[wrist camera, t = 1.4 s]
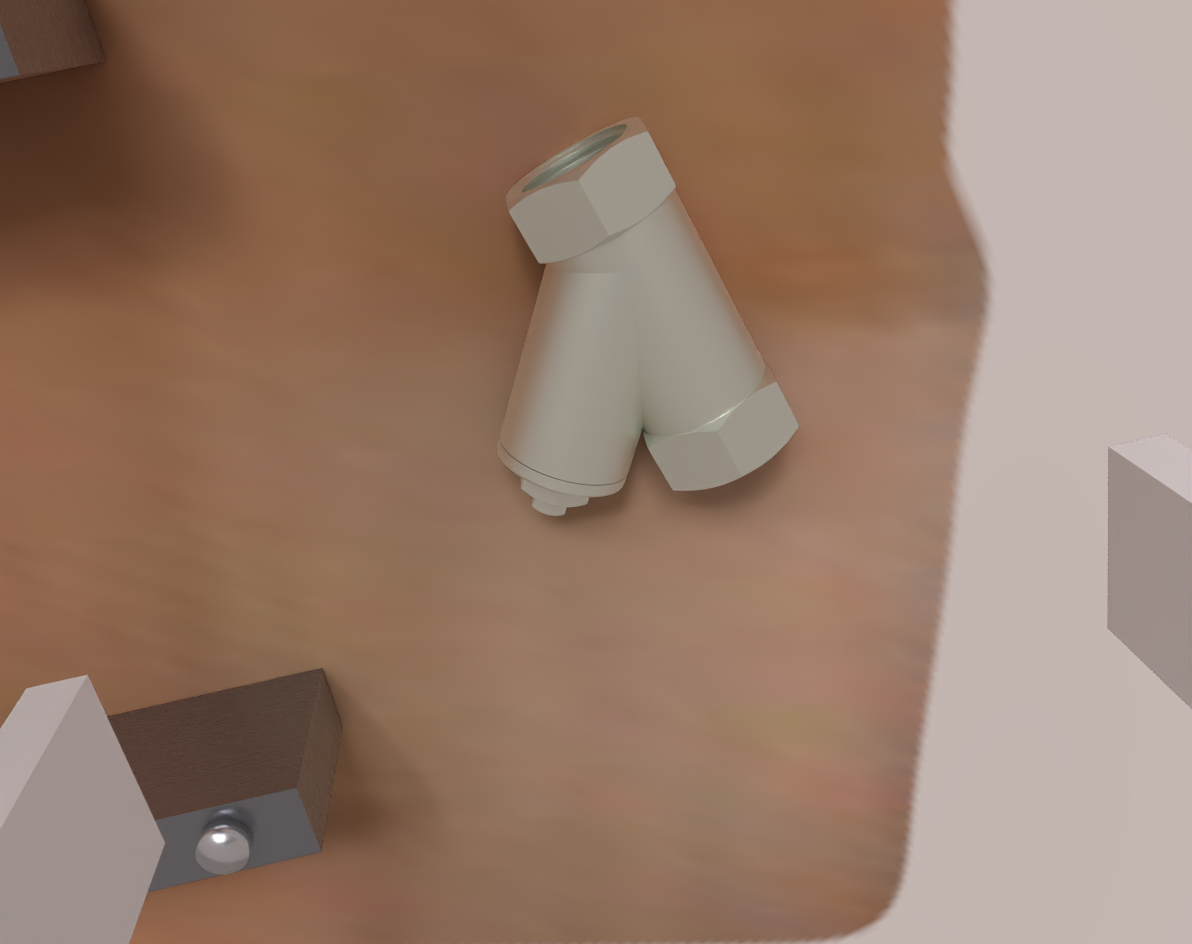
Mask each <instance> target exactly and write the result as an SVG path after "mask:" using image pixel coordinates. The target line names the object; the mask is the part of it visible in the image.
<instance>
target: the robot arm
mask: <svg viewBox="0 0 1192 944" xmlns="http://www.w3.org/2000/svg"><path fill="white" fill-rule="evenodd" d="M1108 448H1109V449H1108V452H1109V453H1108V629H1109V630H1110V631H1111V632H1112V633H1113V634H1114V635H1115V636H1116V637H1117V638H1118V639H1120V640H1121V641H1122V642H1123V643H1124V644H1125V645H1126V646H1127V647H1128V648H1129V649H1130V650H1131V651H1132V652H1133V653H1134V654H1135V655H1136V656H1137V657H1138V658H1139V659H1140V660H1141V661H1142V662H1143V663H1144V664H1145V665H1147V666H1148V667H1149V668H1150V669H1151V670H1152V671H1153V672H1154V673H1155V674H1156V675H1157V676H1158V677H1159V678H1160V679H1161V680H1162V681H1163V682H1164V683H1165V684H1166V685H1167V686H1168V687H1169V688H1170V689H1171V690H1172V691H1173V692H1175V693H1176V694H1177V695H1178V696H1179V697H1180V698H1181V699H1182V700H1183V701H1184V702H1185V703H1186V704H1187V705H1188V706H1189V707H1190V708H1191V709H1192V449H1191V448H1189V447H1188V446H1186V445H1184V444H1183V443H1181V442H1180V441H1178V440H1176V439H1175V438H1173V437H1171V436H1170V435H1168V434H1162V435H1158V436H1153V437H1149V438H1145V439H1140V440H1136V441H1131V442H1127V443H1122V444H1118V445H1113V446H1109V447H1108ZM164 845H165V842H164V839H163V837H162V835H161V833H160V831H159V829H158V826H157V824H156V822H155V820H154V818H153V816H152V813H151V811H150V809H149V807H148V805H147V803H146V800H145V798H144V796H143V794H142V792H141V789H140V787H139V785H138V783H137V781H136V779H135V776H134V774H133V772H132V770H131V768H130V766H129V763H128V761H127V759H126V757H125V755H124V753H123V750H122V748H121V746H120V744H119V742H118V740H117V737H116V735H115V733H114V731H113V729H112V727H111V724H110V722H109V720H108V718H107V716H106V714H105V711H104V709H103V707H102V705H101V703H100V701H99V698H98V696H97V694H96V692H95V690H94V688H93V685H92V683H91V681H90V679H89V677H88V675H84V676H80V677H75V678H71V679H66V680H62V681H57V682H53V683H48V684H44V685H39V686H35V687H30V688H26V690H25V691H24V693H23V694H22V696H21V698H20V699H19V701H18V702H17V704H16V705H15V707H14V708H13V710H12V712H11V713H10V715H9V716H8V718H7V719H6V721H5V722H4V724H3V726H2V727H1V729H0V944H129V942H130V940H131V937H132V934H133V931H134V928H135V926H136V923H137V920H138V917H139V914H140V912H141V909H142V906H143V903H144V900H145V898H146V895H147V892H148V889H149V886H150V884H151V881H152V878H153V875H154V873H155V870H156V867H157V864H158V861H159V859H160V856H161V853H162V850H163V847H164Z"/></svg>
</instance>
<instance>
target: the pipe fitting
mask: <svg viewBox="0 0 1192 944" xmlns="http://www.w3.org/2000/svg"><path fill="white" fill-rule="evenodd" d="M675 188H676V185H675V183H674V181H673V179H672V177H671V175H670V173H669V171H668V169H667V167H666V165H665V163H664V161H663V159H662V157H661V155H660V153H659V152H658V150H657V148H656V146H655V144H654V142H653V140H652V138H651V136H650V134H649V132H648V130H647V128H646V127H645V125H644V123H643V121H642V119H641V118H640V117H631V118H627V119H624V120H621V121H619V122H616V123H614V124H611V125H609V126H607V127H605V128H602V129H600V130H598V131H596V132H594V133H592V134H590V135H588V136H587V137H585V138H583V139H581V140H579V141H577V142H576V143H574V144H572V145H570V146H569V147H567V148H565V149H564V150H562V151H560V152H559V153H557V154H556V155H554V156H552V157H551V158H549V159H548V160H546V161H545V162H543V163H542V164H540V165H539V166H538V167H536V168H535V169H533V170H532V171H531V172H529V173H528V174H527V175H525V176H524V177H523V178H522V179H520V180H519V181H518V182H517V183H516V184H515V185H514V186H513V187H512V188H511V189H510V190H509V191H508V193H507V195H506V203H507V208H508V212H509V214H510V215H511V217H512V219H513V220H514V222H515V224H516V225H517V227H518V229H519V230H520V232H521V234H522V236H523V237H524V239H525V241H526V242H527V244H528V246H529V247H530V249H531V251H532V253H533V254H534V256H535V258H536V259H537V261H538V263H546V266H545V270H544V274H543V277H542V281H541V285H540V289H539V292H538V296H537V300H536V303H535V307H534V311H533V314H532V318H531V322H530V326H529V329H528V333H527V337H526V340H525V344H524V348H523V351H522V355H521V359H520V362H519V366H518V370H517V374H516V377H515V381H514V385H513V388H512V392H511V396H510V399H509V403H508V407H507V411H506V414H505V418H504V422H503V425H502V429H501V433H500V436H499V440H498V443H497V453H498V456H499V458H500V460H501V461H502V462H503V463H504V465H505V466H506V467H507V468H509V469H510V470H511V471H512V472H513V473H515V474H516V475H518V476H519V477H521V481H520V486H521V489H522V490H523V491H525V492H526V493H527V494H529V495H530V496H532V507H533V508H535V509H536V510H537V511H539V512H541V513H543V514H546V515H551V516H559V515H564V514H565V512H566V509H567V507H577V506H582V505H586V504H587V503H588V500H589V497H603V496H608V495H611V494H614V493H616V492H618V491H619V490H620V489H621V488H622V487H623V486H624V484H625V481H626V478H627V475H628V472H629V469H630V466H631V463H632V460H633V457H634V454H635V451H636V448H637V444H638V441H639V438H640V435H641V432H642V431H643V435H644V438H645V441H646V444H647V447H648V449H649V451H650V453H651V455H652V456H653V458H654V460H655V461H656V463H657V465H658V466H659V468H660V470H661V471H662V473H663V475H664V477H665V478H666V480H667V482H668V483H669V485H670V487H671V488H672V490H673V491H695V490H704V489H710V488H714V487H718V486H721V485H724V484H727V483H730V482H732V481H735V480H737V479H739V478H741V477H743V476H745V475H747V474H749V473H751V472H752V471H754V470H755V469H757V468H759V467H760V466H762V465H763V464H764V463H766V462H767V461H768V460H770V459H771V458H772V457H773V456H774V455H775V454H777V453H778V452H779V451H780V450H781V449H782V447H783V446H784V445H785V444H786V443H787V442H788V441H789V440H790V438H791V437H792V436H793V434H794V433H795V432H796V430H797V429H798V427H799V424H798V422H797V420H796V418H795V416H794V414H793V412H792V410H791V408H790V406H789V404H788V403H787V401H786V399H785V397H784V395H783V393H782V391H781V389H780V387H779V385H778V383H777V381H776V379H775V377H774V376H773V374H772V372H771V370H770V368H769V366H768V365H767V363H766V361H765V359H764V357H763V356H762V354H761V353H759V351H758V349H757V347H756V346H755V344H754V342H753V340H752V338H751V336H750V334H749V332H748V330H747V328H746V326H745V324H744V322H743V320H742V318H741V316H740V314H739V313H738V311H737V309H736V307H735V305H734V303H733V301H732V299H731V297H730V295H729V293H728V291H727V289H726V287H725V285H724V283H723V281H722V280H721V278H720V276H719V274H718V272H717V270H716V268H715V266H714V264H713V262H712V260H711V258H710V256H709V254H708V252H707V250H706V248H705V247H704V245H703V243H702V241H701V239H700V237H699V235H698V233H697V231H696V229H695V227H694V225H693V223H692V221H691V219H690V217H689V215H688V214H687V212H686V210H685V208H684V206H683V204H682V202H681V200H680V198H679V196H678V194H677V192H676V190H675Z"/></svg>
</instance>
